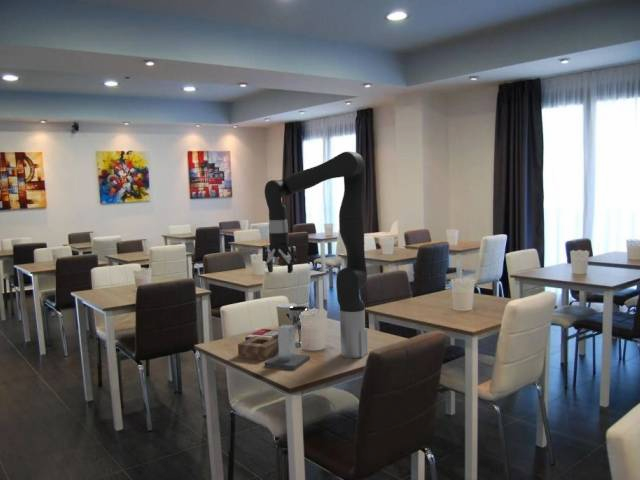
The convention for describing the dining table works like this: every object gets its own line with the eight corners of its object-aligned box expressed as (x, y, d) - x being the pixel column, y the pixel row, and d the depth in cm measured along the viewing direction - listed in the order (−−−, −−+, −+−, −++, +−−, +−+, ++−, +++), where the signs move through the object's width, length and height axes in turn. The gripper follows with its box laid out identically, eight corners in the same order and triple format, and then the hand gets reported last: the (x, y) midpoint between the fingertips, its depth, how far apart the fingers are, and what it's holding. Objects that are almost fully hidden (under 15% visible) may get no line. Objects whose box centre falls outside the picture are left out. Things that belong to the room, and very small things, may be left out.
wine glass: (300, 340, 222) (299, 305, 220) (314, 344, 216) (312, 307, 214) (286, 345, 216) (284, 308, 215) (299, 348, 210) (298, 311, 209)
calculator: (284, 329, 228) (269, 337, 213) (284, 339, 228) (269, 348, 214) (261, 328, 231) (244, 335, 217) (261, 337, 232) (245, 346, 218)
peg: (295, 357, 194) (294, 325, 193) (289, 361, 190) (288, 328, 189) (285, 356, 196) (283, 324, 195) (279, 360, 192) (277, 327, 191)
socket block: (281, 351, 208) (281, 338, 208) (265, 360, 197) (265, 347, 197) (255, 348, 213) (254, 335, 213) (238, 357, 202) (237, 344, 202)
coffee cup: (290, 335, 230) (289, 308, 229) (273, 333, 235) (272, 306, 234) (302, 330, 238) (301, 303, 236) (285, 328, 243) (284, 302, 242)
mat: (309, 359, 196) (309, 355, 196) (294, 370, 186) (294, 366, 185) (280, 356, 201) (280, 352, 201) (264, 366, 191) (264, 362, 190)
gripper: (299, 230, 209) (300, 271, 211) (267, 230, 215) (269, 270, 217) (290, 232, 203) (291, 274, 204) (257, 232, 209) (259, 273, 210)
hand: (280, 272), depth 211 cm, fingers open, 8 cm apart
